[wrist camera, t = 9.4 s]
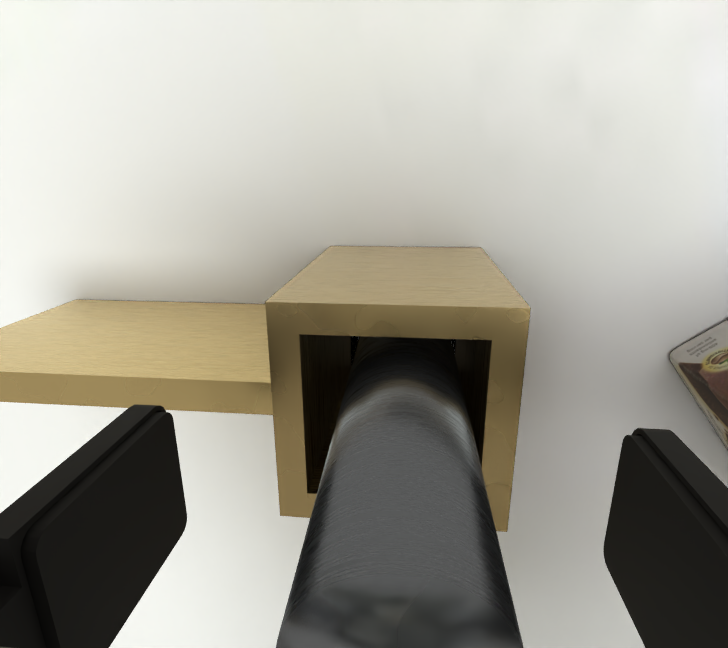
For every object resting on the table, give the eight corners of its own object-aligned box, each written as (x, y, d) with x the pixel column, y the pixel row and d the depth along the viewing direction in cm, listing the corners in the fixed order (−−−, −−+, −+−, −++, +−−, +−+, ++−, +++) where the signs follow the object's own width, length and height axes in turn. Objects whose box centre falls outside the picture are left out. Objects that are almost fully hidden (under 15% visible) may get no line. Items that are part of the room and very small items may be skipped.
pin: (446, 281, 20) (541, 584, 6) (443, 356, 21) (514, 764, 7) (365, 279, 20) (266, 566, 6) (366, 354, 21) (283, 742, 7)
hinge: (481, 247, 19) (530, 308, 11) (457, 596, 25) (477, 817, 16) (64, 243, 21) (-173, 291, 13) (128, 568, 27) (-7, 753, 18)
